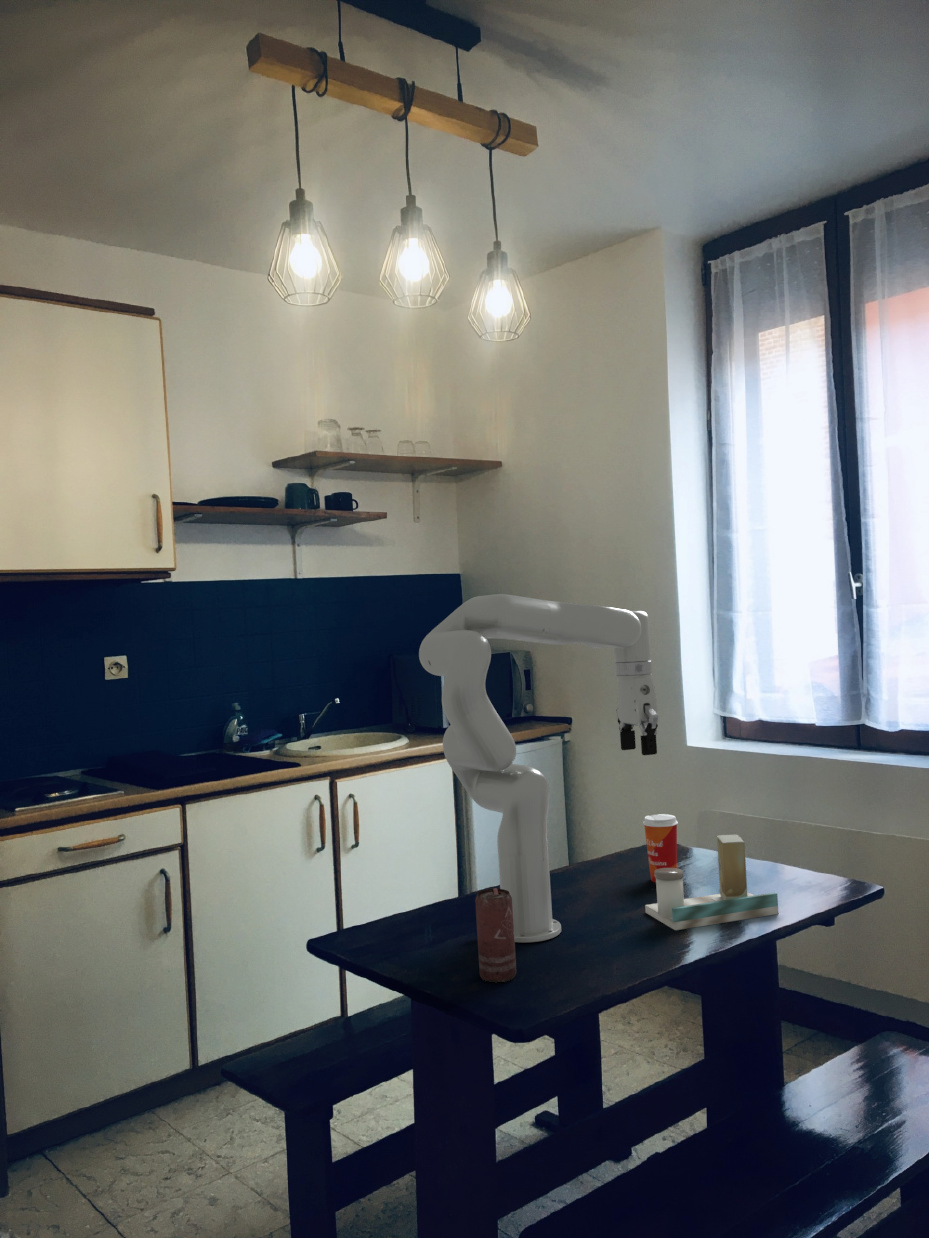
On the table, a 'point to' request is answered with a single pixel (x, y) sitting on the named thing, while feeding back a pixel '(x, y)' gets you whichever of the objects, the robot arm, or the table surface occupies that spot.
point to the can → (495, 935)
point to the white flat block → (716, 910)
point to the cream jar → (669, 890)
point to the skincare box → (732, 867)
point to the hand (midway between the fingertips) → (638, 752)
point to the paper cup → (661, 842)
